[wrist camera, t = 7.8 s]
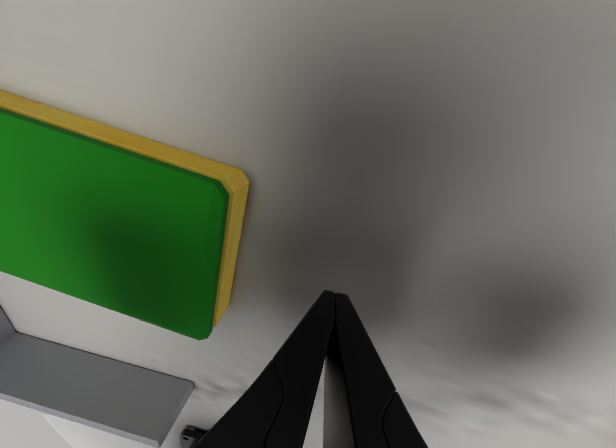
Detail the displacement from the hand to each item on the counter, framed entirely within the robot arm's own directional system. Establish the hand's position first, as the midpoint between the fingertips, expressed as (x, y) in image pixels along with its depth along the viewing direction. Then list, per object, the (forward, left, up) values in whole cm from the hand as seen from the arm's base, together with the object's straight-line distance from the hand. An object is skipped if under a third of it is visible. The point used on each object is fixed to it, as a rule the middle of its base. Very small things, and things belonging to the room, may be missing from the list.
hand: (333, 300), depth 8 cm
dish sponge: (+1, +11, -2) cm, 11 cm away
